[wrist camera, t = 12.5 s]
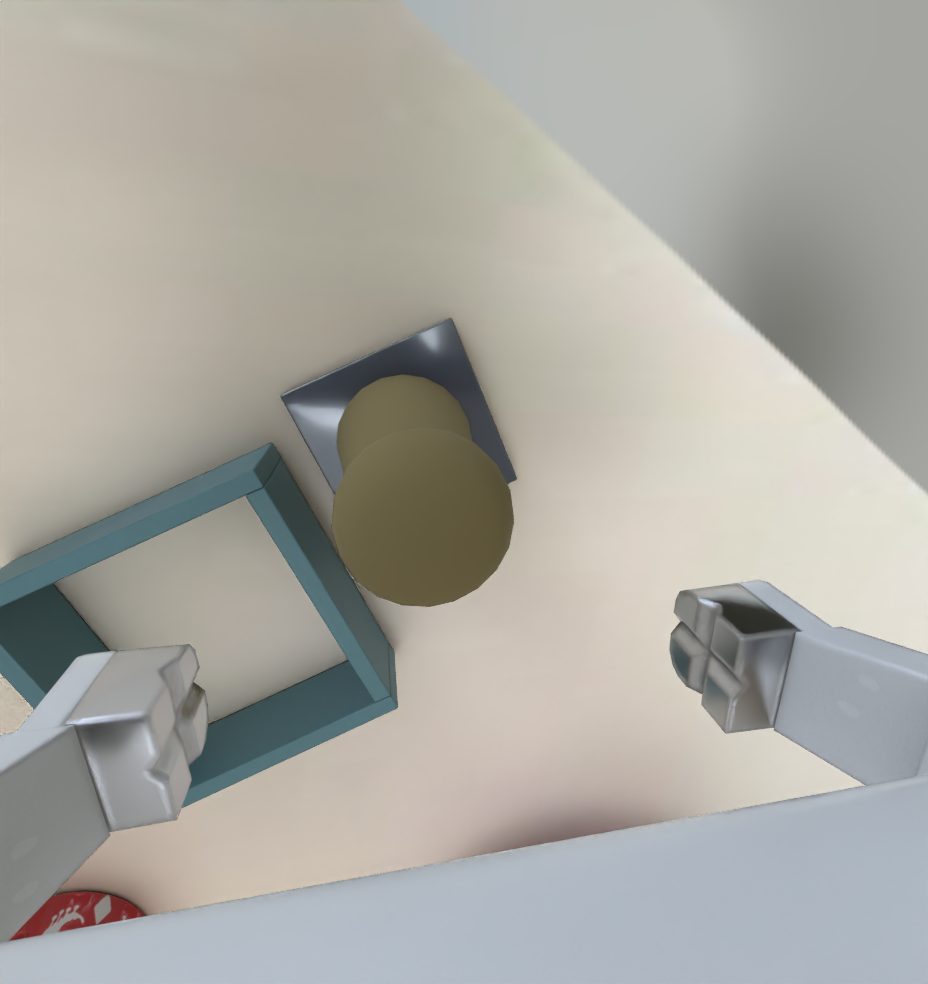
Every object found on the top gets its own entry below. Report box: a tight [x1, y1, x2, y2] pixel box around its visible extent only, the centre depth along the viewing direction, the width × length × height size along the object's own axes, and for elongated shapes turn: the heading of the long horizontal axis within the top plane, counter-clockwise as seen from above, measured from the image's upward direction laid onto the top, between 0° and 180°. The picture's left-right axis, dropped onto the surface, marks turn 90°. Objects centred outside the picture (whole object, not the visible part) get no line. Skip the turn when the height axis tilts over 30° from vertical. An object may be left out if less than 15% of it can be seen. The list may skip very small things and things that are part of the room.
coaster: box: [281, 318, 517, 494], centre depth 25 cm, size 8×8×1 cm
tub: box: [0, 443, 398, 808], centre depth 24 cm, size 13×13×4 cm
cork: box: [332, 374, 514, 607], centre depth 19 cm, size 6×6×11 cm
